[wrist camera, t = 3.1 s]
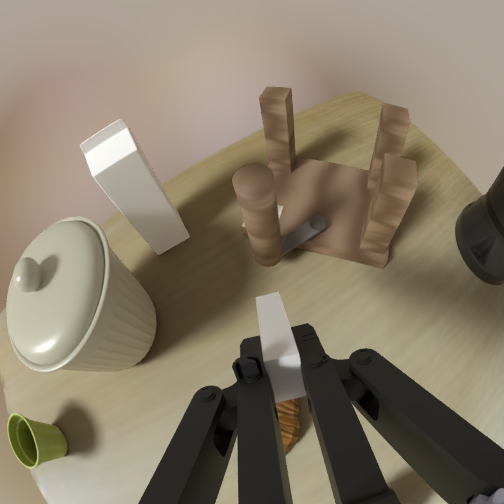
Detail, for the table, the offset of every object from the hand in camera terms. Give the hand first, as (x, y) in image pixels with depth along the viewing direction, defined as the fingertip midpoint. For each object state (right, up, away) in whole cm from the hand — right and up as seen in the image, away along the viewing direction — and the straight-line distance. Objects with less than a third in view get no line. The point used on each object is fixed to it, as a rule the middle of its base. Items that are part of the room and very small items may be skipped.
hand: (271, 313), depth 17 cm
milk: (-15, +7, +27) cm, 31 cm away
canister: (-20, -8, +20) cm, 29 cm away
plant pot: (-34, -29, +11) cm, 46 cm away
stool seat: (+10, +11, +24) cm, 28 cm away
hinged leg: (+4, +5, +19) cm, 20 cm away
